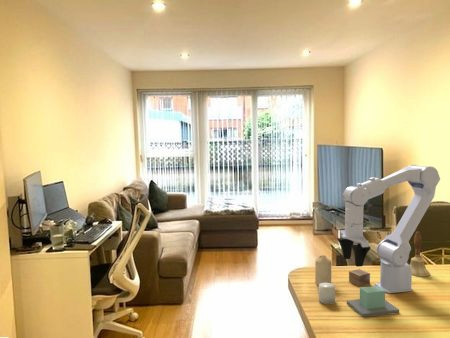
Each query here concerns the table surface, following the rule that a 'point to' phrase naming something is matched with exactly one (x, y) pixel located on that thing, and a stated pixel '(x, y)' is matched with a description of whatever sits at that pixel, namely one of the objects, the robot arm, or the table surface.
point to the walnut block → (359, 277)
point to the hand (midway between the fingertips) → (352, 262)
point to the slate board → (374, 311)
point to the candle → (322, 270)
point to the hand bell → (418, 259)
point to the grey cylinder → (327, 293)
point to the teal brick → (372, 297)
